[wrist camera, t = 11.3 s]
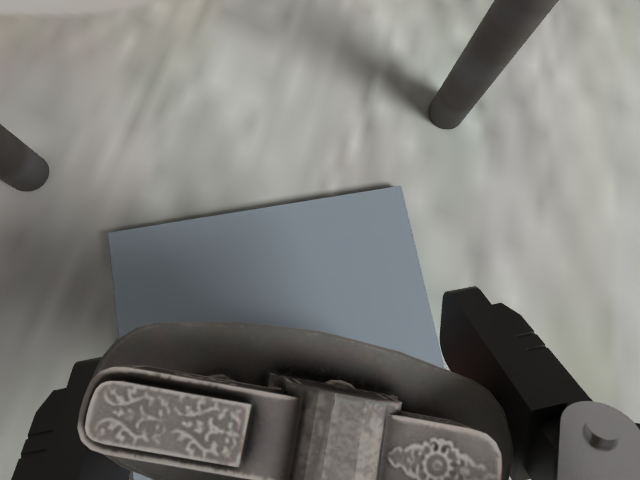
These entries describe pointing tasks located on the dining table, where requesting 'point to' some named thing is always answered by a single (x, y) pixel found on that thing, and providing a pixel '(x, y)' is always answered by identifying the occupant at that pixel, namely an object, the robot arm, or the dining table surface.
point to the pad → (283, 272)
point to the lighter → (286, 408)
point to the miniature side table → (444, 111)
